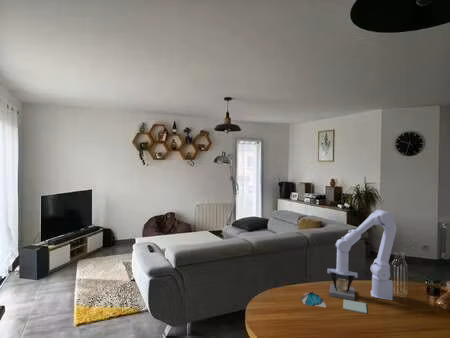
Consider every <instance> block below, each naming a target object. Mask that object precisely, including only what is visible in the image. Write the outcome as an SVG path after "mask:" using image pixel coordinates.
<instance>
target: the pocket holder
mask: <svg viewBox="0 0 450 338" xmlns="http://www.w3.org/2000/svg"><path fill="white" fill-rule="evenodd" d="M328 297H333V298H336V299H337V298H339V299H344V300H350V301H355V287H353V286H350V288H349V291H348V286H347V287H346V293H345V292H340V291H337V284H336V288H335V286H334V283H330V284H329V291H328Z"/></svg>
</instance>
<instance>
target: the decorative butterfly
mask: <svg viewBox="0 0 450 338" xmlns="http://www.w3.org/2000/svg"><path fill="white" fill-rule="evenodd" d="M300 300H301V301H302V303H303V305H305V306H314V307H320V308H327V305H326V303H325V302H324V301H323V300H322V299H321V296H320V295H318V294H316V293H315V292H314V291H310V292H306V293H304V294H303V296H301V297H300Z"/></svg>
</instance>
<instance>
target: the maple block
mask: <svg viewBox="0 0 450 338" xmlns="http://www.w3.org/2000/svg"><path fill="white" fill-rule="evenodd" d="M336 285H337V291H340V292H345V293H346V287H348V281H347V279H344V278H339V277H338V278H337V279H336Z"/></svg>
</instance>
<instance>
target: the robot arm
mask: <svg viewBox="0 0 450 338" xmlns="http://www.w3.org/2000/svg"><path fill="white" fill-rule="evenodd" d="M395 219H396V217H394V215H393V214H392V213H391V212H389V211H385V210H382V209H381V208H379V209H376V210H374V211H373V212H372V213H370V214H369V215H368V217H367V218H366V219H365V220H364V221H363V222H362V223H361V224H359V225H358V227H357V228H356V229H353V228H352V229H349V230H348V231H347V232H348V233H346V234H345V235H344V236H341V238H339V239H337V240H336V243H334V245H335V248H336V268H327V274H330V277H331V279H332V281H333V284H334V286H335V288H336V285H337V275H339V276H346V277H348V281H347V287H348V291H349V288H350V287H351V286H352V285H351V284H352V283H353V281H354V278H355V279H356V278H358V272H354V271H350V270H349V251H351V248H352V246H353V245H354V244H355V243H357V242H358V241H359V240H360V239H361V238H362V234H363V233H364V232H366V231H367V230H369V229H371V227H373V226H376V225H378V226H379V225H380V226H381V227H382V228H383V233H382V237H381V240H380V245H379V249H378V253H377V256H376V258H375V259H374V261H373V263H372V264H371V265H370V272H371V273H372V275H371V290H370V297H372V298H377V299H381V300H388V301H393V300H394V299H393V293H394V292H393V280H392V279H390V277H391V265H390V263H389V261H390V257H391V254H392V249H393V245H394V241H395V237H396V233H397V226H396V225H397V224H396V222H395Z"/></svg>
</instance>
